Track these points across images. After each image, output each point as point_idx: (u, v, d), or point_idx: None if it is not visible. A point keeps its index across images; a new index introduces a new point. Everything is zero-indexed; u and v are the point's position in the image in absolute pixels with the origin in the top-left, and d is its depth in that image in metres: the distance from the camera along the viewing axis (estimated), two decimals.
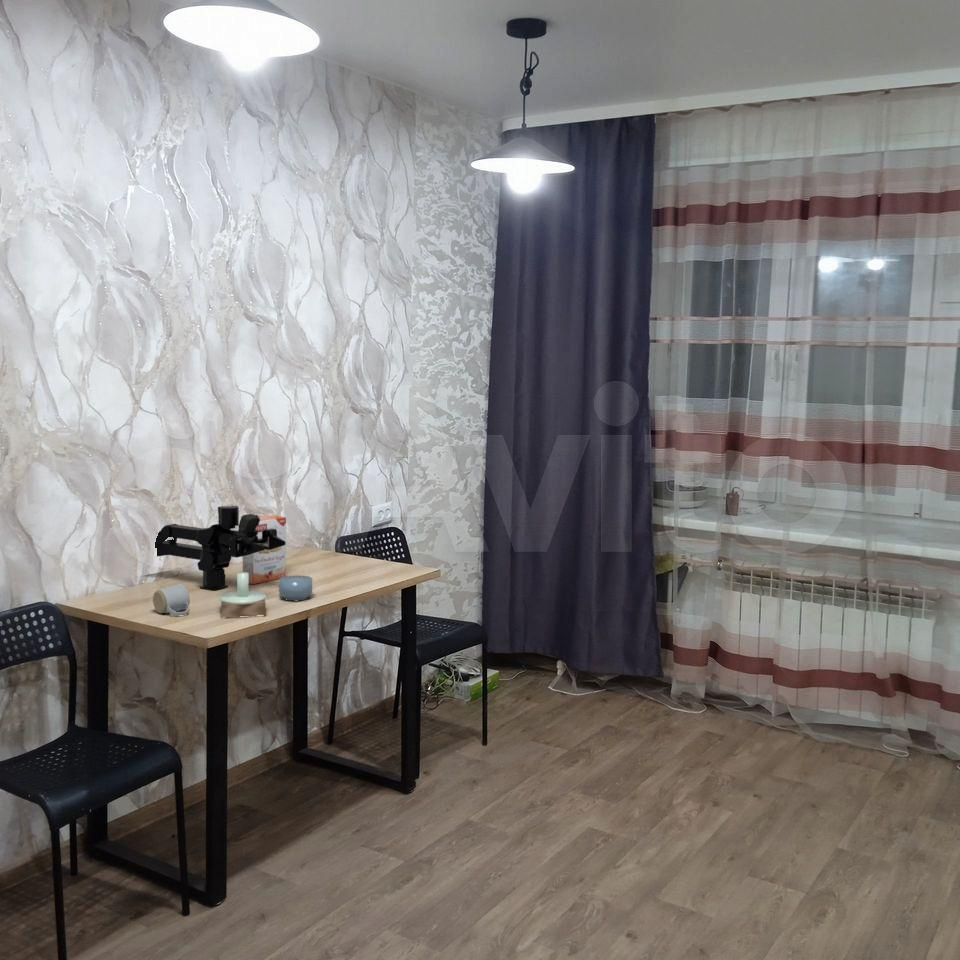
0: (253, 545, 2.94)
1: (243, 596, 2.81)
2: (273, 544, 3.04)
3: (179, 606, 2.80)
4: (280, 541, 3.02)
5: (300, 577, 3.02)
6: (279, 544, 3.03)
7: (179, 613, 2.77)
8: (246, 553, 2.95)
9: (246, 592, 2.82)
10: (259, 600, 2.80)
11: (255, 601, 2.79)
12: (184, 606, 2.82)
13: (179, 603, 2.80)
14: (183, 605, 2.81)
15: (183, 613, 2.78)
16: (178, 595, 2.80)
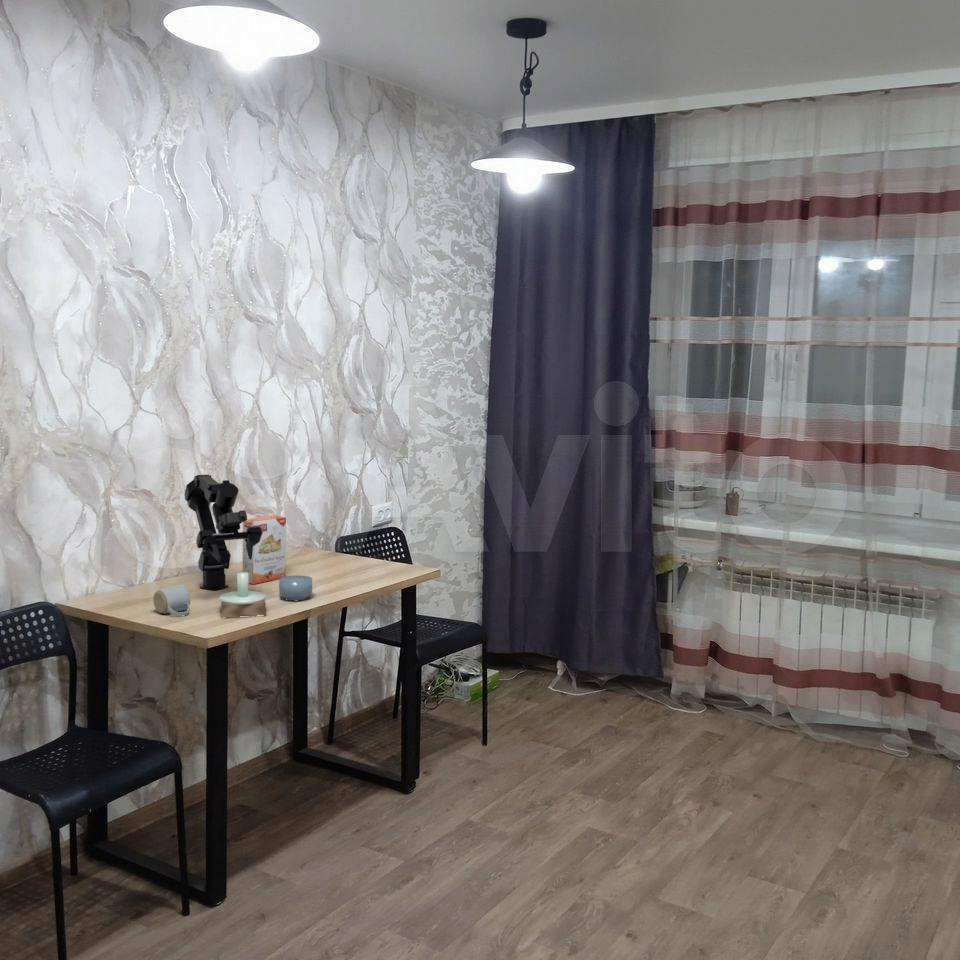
0: (214, 551, 2.87)
1: (243, 596, 2.81)
2: (247, 547, 2.95)
3: (180, 606, 2.80)
4: (249, 553, 2.92)
5: (300, 577, 3.02)
6: (248, 554, 2.93)
7: (180, 613, 2.77)
8: (208, 550, 2.90)
9: (246, 592, 2.82)
10: (259, 600, 2.80)
11: (255, 601, 2.79)
12: (185, 606, 2.82)
13: (180, 603, 2.80)
14: (184, 605, 2.81)
15: (184, 613, 2.78)
16: (179, 595, 2.80)
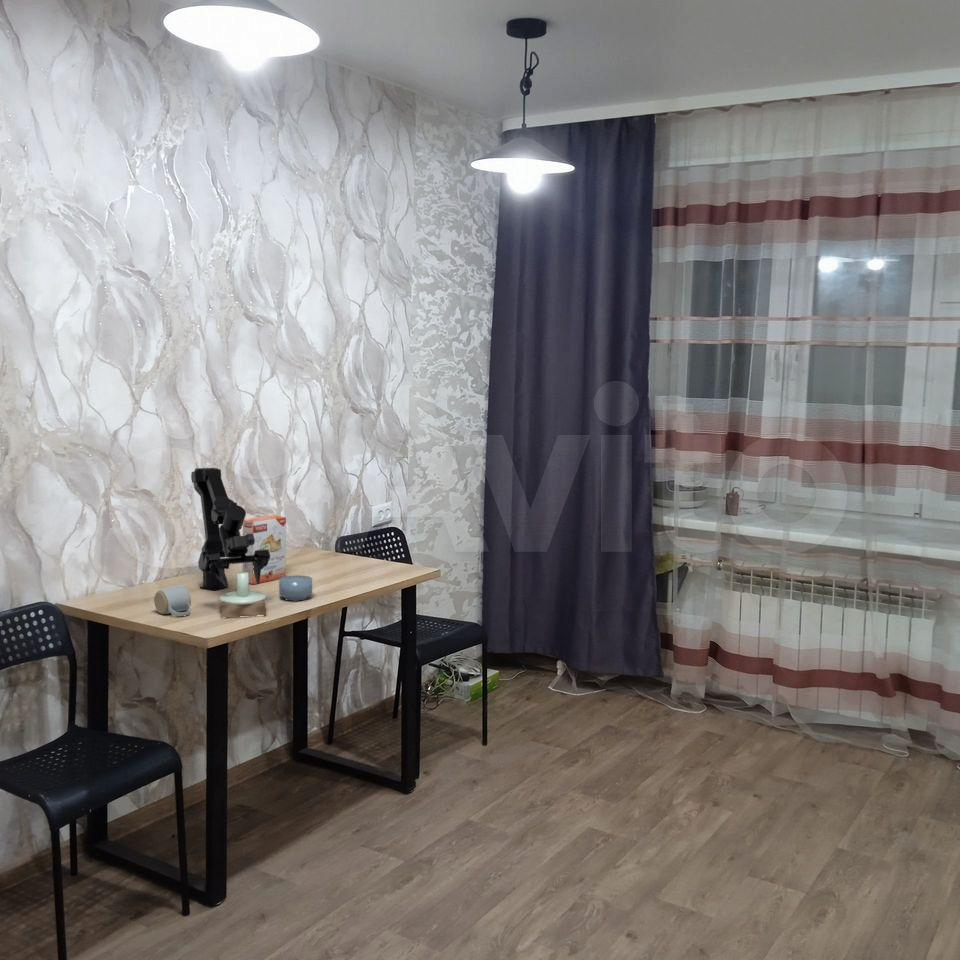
0: (220, 575, 2.81)
1: (243, 596, 2.81)
2: (255, 570, 2.88)
3: (180, 607, 2.80)
4: (257, 577, 2.85)
5: (300, 577, 3.02)
6: (256, 578, 2.86)
7: (180, 614, 2.77)
8: (215, 574, 2.84)
9: (246, 592, 2.82)
10: (259, 600, 2.80)
11: (255, 601, 2.79)
12: (185, 607, 2.81)
13: (180, 604, 2.79)
14: (184, 606, 2.81)
15: (184, 614, 2.77)
16: (179, 596, 2.79)
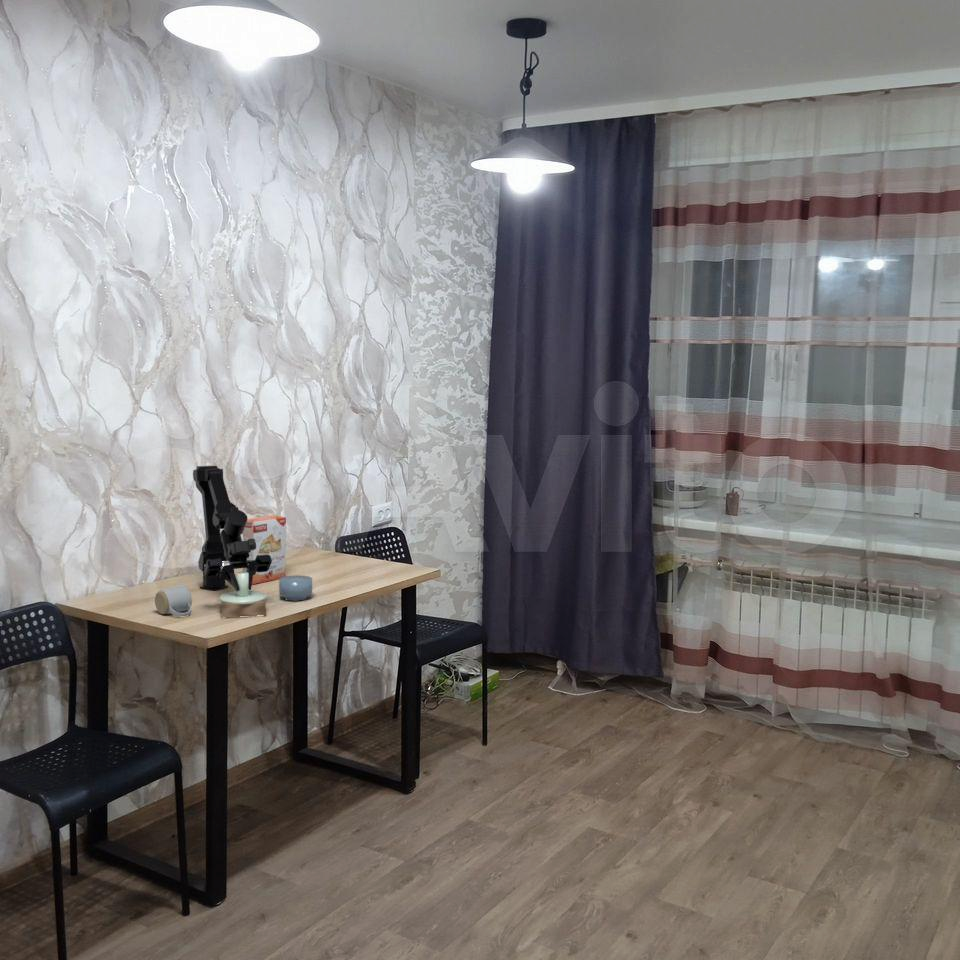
0: (232, 579, 2.81)
1: (243, 596, 2.81)
2: None
3: (181, 607, 2.80)
4: None
5: (300, 577, 3.02)
6: None
7: (181, 614, 2.76)
8: (226, 578, 2.84)
9: (246, 592, 2.82)
10: (259, 600, 2.80)
11: (255, 601, 2.79)
12: (186, 607, 2.81)
13: (181, 604, 2.79)
14: (185, 606, 2.80)
15: (185, 614, 2.77)
16: (180, 596, 2.79)
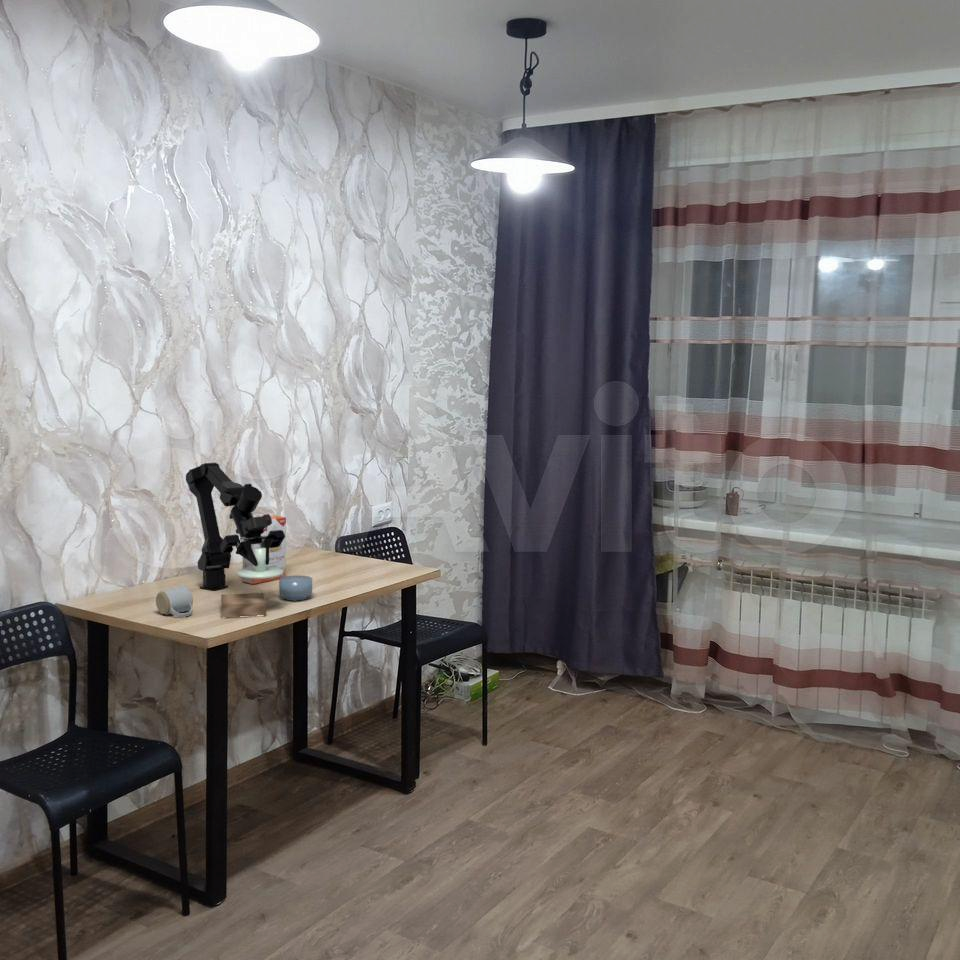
0: (249, 555, 2.84)
1: (261, 571, 2.84)
2: None
3: (182, 607, 2.79)
4: (266, 558, 2.86)
5: (300, 577, 3.02)
6: None
7: (182, 614, 2.76)
8: (242, 554, 2.86)
9: (264, 567, 2.85)
10: (279, 574, 2.84)
11: (275, 575, 2.82)
12: (187, 607, 2.81)
13: (182, 604, 2.79)
14: (186, 606, 2.80)
15: (186, 614, 2.77)
16: (181, 596, 2.79)
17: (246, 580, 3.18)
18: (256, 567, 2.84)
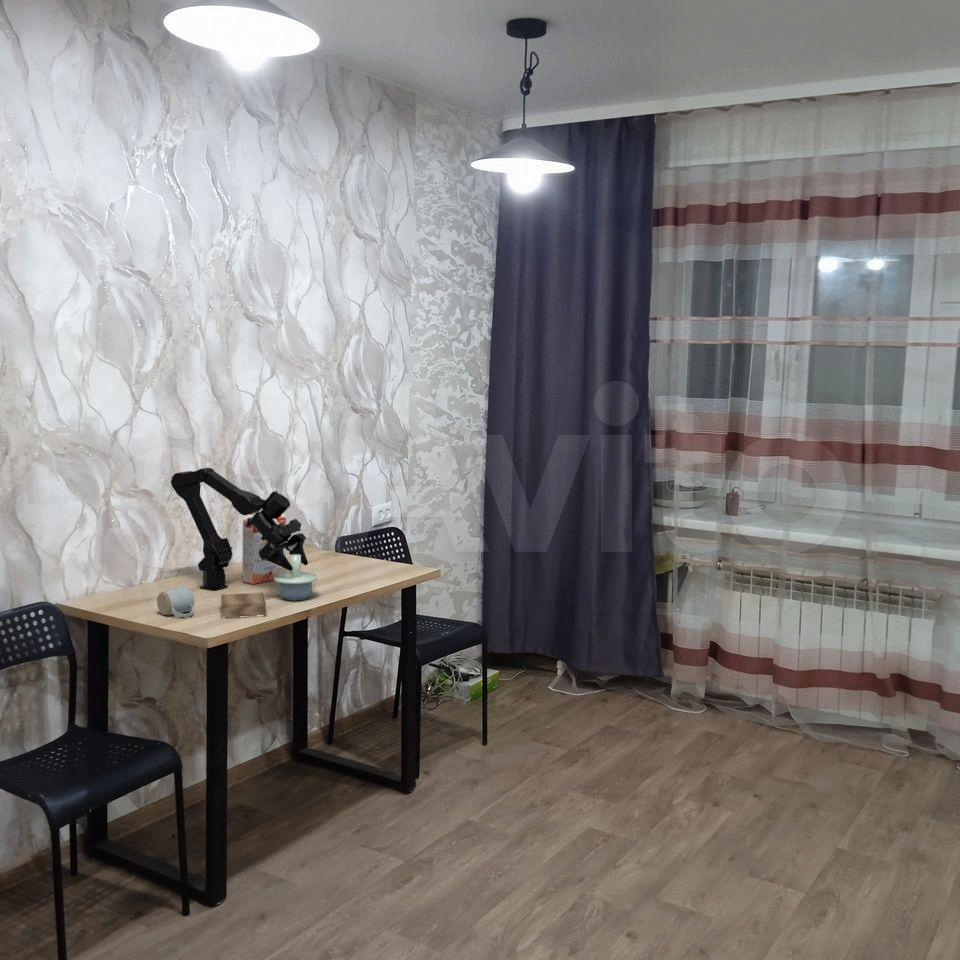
0: (284, 560, 2.94)
1: (299, 576, 2.99)
2: None
3: (183, 608, 2.79)
4: (304, 559, 3.03)
5: None
6: (301, 560, 3.04)
7: (183, 615, 2.75)
8: (273, 561, 2.95)
9: (300, 572, 3.00)
10: None
11: (316, 578, 2.99)
12: (188, 608, 2.80)
13: (183, 605, 2.78)
14: (187, 607, 2.80)
15: (188, 615, 2.76)
16: (182, 597, 2.78)
17: (246, 580, 3.18)
18: (294, 573, 2.98)
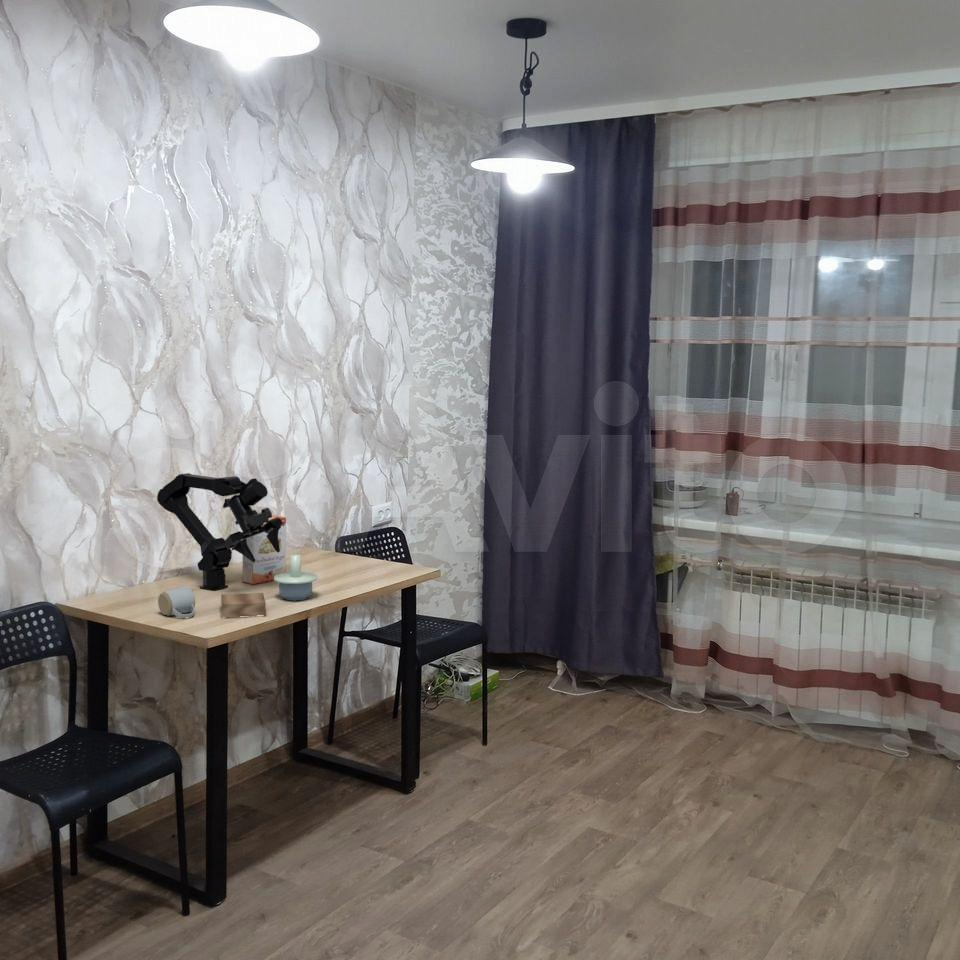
0: (246, 552, 2.97)
1: (299, 576, 2.99)
2: (271, 539, 3.06)
3: (185, 608, 2.78)
4: (276, 546, 3.04)
5: None
6: (274, 546, 3.05)
7: (185, 615, 2.75)
8: (238, 550, 2.99)
9: (300, 572, 3.00)
10: None
11: (316, 578, 2.99)
12: (190, 608, 2.80)
13: (185, 605, 2.78)
14: (189, 607, 2.79)
15: (189, 615, 2.76)
16: (184, 597, 2.78)
17: (246, 580, 3.18)
18: (294, 573, 2.98)
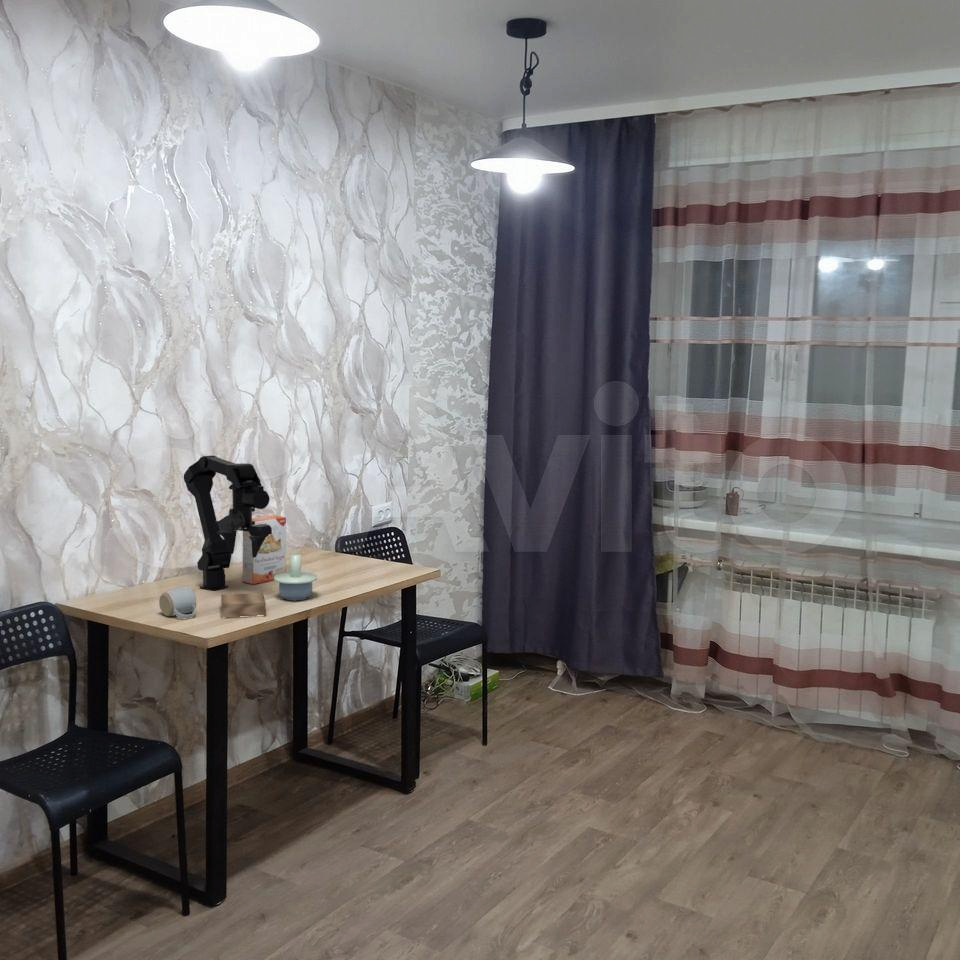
0: None
1: (299, 576, 2.99)
2: None
3: (186, 609, 2.78)
4: None
5: None
6: None
7: (186, 616, 2.74)
8: None
9: (300, 572, 3.00)
10: None
11: (316, 578, 2.99)
12: (191, 609, 2.79)
13: (186, 606, 2.77)
14: (190, 608, 2.79)
15: (190, 616, 2.75)
16: (185, 597, 2.77)
17: (246, 580, 3.18)
18: (294, 573, 2.98)
